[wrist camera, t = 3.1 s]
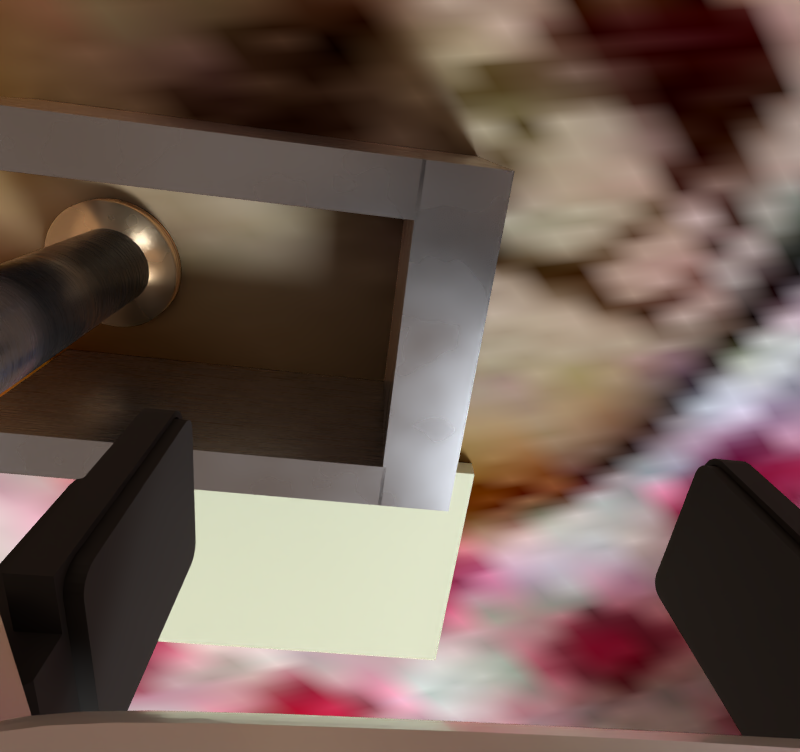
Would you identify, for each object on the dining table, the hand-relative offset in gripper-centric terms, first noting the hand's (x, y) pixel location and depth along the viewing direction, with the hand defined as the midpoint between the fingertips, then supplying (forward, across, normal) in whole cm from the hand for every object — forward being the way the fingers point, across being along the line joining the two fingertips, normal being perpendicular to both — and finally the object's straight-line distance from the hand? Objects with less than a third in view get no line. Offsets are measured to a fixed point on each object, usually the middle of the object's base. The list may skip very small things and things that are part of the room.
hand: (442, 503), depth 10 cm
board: (+12, +5, +12) cm, 17 cm away
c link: (+12, +6, -1) cm, 13 cm away
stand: (+12, +11, -1) cm, 16 cm away
